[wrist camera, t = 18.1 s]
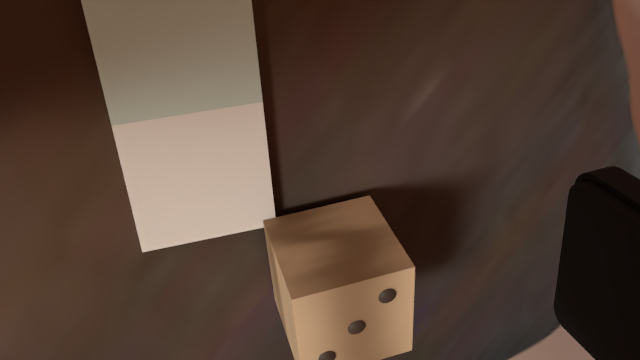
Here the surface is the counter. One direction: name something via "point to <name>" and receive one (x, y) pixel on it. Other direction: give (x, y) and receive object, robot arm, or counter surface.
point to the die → (341, 282)
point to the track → (185, 115)
